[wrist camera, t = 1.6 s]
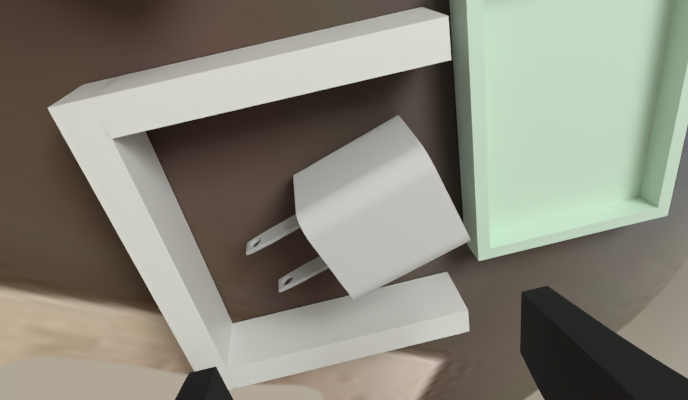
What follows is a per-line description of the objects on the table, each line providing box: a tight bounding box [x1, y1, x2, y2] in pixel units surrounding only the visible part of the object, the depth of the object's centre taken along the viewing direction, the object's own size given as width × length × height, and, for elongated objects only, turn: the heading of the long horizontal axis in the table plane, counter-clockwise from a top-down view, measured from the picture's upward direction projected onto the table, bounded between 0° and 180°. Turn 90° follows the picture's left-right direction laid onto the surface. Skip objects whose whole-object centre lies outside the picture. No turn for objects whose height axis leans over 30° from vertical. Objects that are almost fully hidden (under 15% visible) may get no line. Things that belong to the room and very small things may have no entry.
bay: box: [48, 7, 469, 390], centre depth 16 cm, size 12×11×2 cm
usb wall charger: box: [246, 115, 471, 300], centre depth 15 cm, size 4×7×4 cm, turn 119°
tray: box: [449, 0, 688, 261], centre depth 16 cm, size 11×8×2 cm
